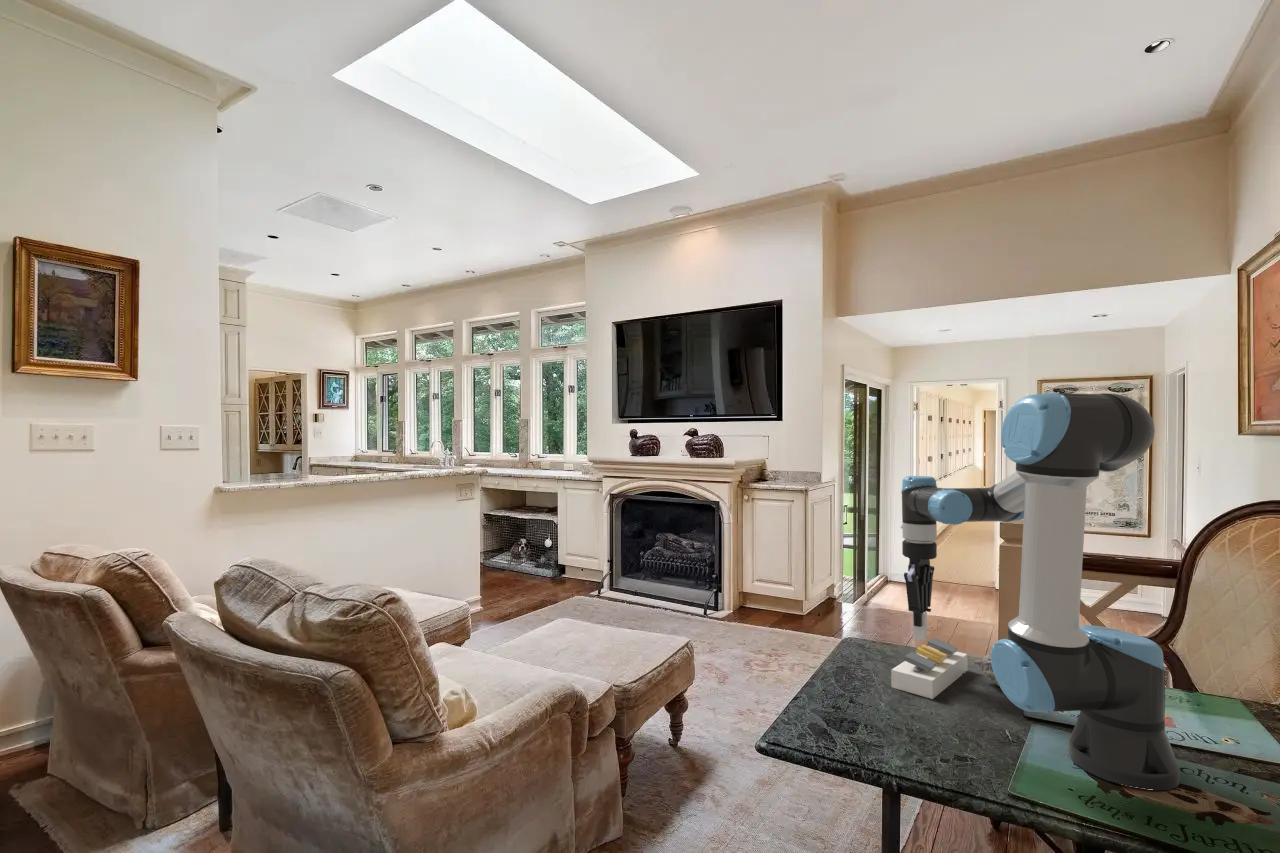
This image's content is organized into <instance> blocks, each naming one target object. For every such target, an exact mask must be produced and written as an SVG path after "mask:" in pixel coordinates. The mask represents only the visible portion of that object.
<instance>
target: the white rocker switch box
mask: <svg viewBox="0 0 1280 853" xmlns="http://www.w3.org/2000/svg"><path fill="white" fill-rule="evenodd" d="M928 647H929V646H928ZM931 648H932V647H931ZM933 649H934V648H933ZM935 650H936V649H935ZM938 651H939V650H938ZM940 652H941V651H940ZM915 653H916V652H915ZM942 653H943V652H942ZM916 654H918V653H916ZM945 654H946V653H945ZM919 655H920V654H919ZM921 656H922V655H921ZM923 657H924V656H923ZM925 658H927V657H925ZM927 659H929V658H927ZM930 660H931V659H930ZM932 661H933V660H932ZM934 662H936V661H934ZM965 671H966V672H968V653H964V652H961V651H957V652H955V653H954V654H953V655H951V656H950V655H948V654H947V659H946V660H944V661H943V662H942V663H938V662H936V667H935V668H933V669H932V670H931V671H929V672H928V671H926V670H924V669H922V668H919V667H917V666H915V665H913V664H911V663H909V662H906V661H903V662H901V663H899V664H898V665H897V666H895V667H893V668H892V669H891V671H890V674H891V676H890V677H891V681H890V682H891V684H890V685H891V688H893V689H896V690H900V691H903V692H906V693H909V694H914V695H917V696H921V697H924V698H926V699H927V698H928V699H931V700H933V699H935V698H936V697H937V696H938V695H939V694H941V693H942V692H943V691H944V690H946V689H947V688H949V686H951V685H952V684H953V683H954V682H955V681H956V680H958V679H959V678H960V677H961V676H963V675H964V674H965V673H966V672H965ZM963 673H964V674H963ZM962 674H963V675H962Z"/></svg>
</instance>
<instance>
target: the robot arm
mask: <svg viewBox="0 0 1280 853" xmlns="http://www.w3.org/2000/svg"><path fill="white" fill-rule="evenodd" d="M1000 429H1001V431H1000V442H1001V447H1002V448H1004V450H1003V452H1004V454H1005V455H1006V457H1007V458H1008V459H1009V460H1010V461H1012V462H1014V463H1015V472H1014V473H1012V474H1011V475H1008V476H1007V477H1006V478H1004V479H1003V480H1001V481H999V482H997V483H995V484H994V485H992V486H990V487H972V488H971V487H961V488H959V487H953V488H951V487H948V488H946V487H945V488H943V487H938V485H937V479H936V478H935V477H934V476H929V475H928V476H927V475H909V476H905V477H903V479H902V481H901V482H902V484H901V486H902V488H901V491H900V492H901V516H902V517H901V518H902V519H901V520H902V524H901V525H900V528H901V530H902V538H903V539H904V540H903V541H902V548H901V550H902V554H901V555H903V557H905V558H908V559H909V560H908V561H909V562H908V565H907V566H908V567H907V571H908V572H904V573H903V577H904V581H905V588H906V596H907V597H906V598H907V599H906V600H907V606H908V611H909V612H912V639H913V640H919V641H923V642H925V641H927V640H928V612H929V613H931V612H932V608H930V607H931V605H932V593H933V580H934V579H933V577H934V573H935V572H934V571H935V565H934V566H933V565H931V560H934V559H936V558H937V555H938V554H937V552H938V550H937V548H938V547H937V543H936V542H935V541H937V539H938V535H937V533H938V530H937V528H938V524H937V523H938V522H939V523H942V524H943V525H944V524H945V525H954V526H955V525H957V526H958V525H962V524H964V523H968V522H969V523H972V522H975V523H977V522H1003V523H1010V522H1014V521H1015V522H1016V521H1022V520H1023V524H1022V525H1023V526H1022V527H1023V528H1022V541H1021V542H1022V543H1021V545H1022V546H1021V548H1022V549H1021V564H1020V565H1021V567H1020V590H1019V604H1018V605H1019V606H1018V607H1019V608H1018V616H1016V617H1014V618H1013V619H1012V620H1010V621H1008V624H1007V625H1008V626H1007V638H1001V639H999V640H996V642H995V643H994V644H993V645H992V647H991V650H990V653H991V664H992V669H993V672H994V675H995V678H996V680H997V682H998V684H999V687H1000V689H1001V691H1002V693H1003V694H1004V695H1005V696H1006V698H1007V699H1008V700H1009V701H1010V702H1011V703H1012V704H1013V705H1015V707H1017V708H1019V709H1021V710H1023V711H1025V712H1031V713H1032V712H1036V713H1037V712H1038V713H1044V714H1052V713H1053V712H1072V711H1073V712H1075V711H1077V712H1078V711H1079V715H1078V717H1077V720H1076V722H1075V725H1074V727H1073V730H1072V732H1071V734H1070V737H1069V739H1068V756H1069V758H1070V759H1071V760H1072V762H1073V763H1075V765H1077V766H1079V768H1081V769H1082V770H1084V771H1086V773H1087V772H1088V773H1089V774H1091V775H1093V776H1095V777H1098V778H1100V779H1103V780H1105V781H1107V782H1110V781H1111V783H1113V782H1115V783H1114V784H1116V783H1119V784H1123V785H1127V786H1132V787H1138V788H1145V789H1153V790H1164V791H1170V789H1171V790H1174V789H1176V788H1177V787H1178V786H1179V785H1180V783H1181V780H1180V779H1181V777H1180V776H1181V773H1180V772H1181V769H1180V766H1179V764H1178V761H1177V758H1176V756H1175V753H1174V750H1173V749H1172V745H1171V742H1170V740H1169V738H1168V735H1167V732H1166V712H1165V711H1166V696H1165V695H1166V692H1165V691H1166V688H1165V687H1166V686H1165V684H1166V681H1165V680H1166V669H1167V668H1166V667H1165V663H1164V662H1165V661H1164V652H1163V649H1162V648H1161V646H1160V645H1159V644H1158V643H1157V642H1155V641H1153V640H1152V639H1149V638H1147V637H1145V636H1141V635H1139V634H1135V633H1132V632H1129V631H1125V630H1121V629H1116V628H1112V627H1106V626H1100V625H1093V624H1092V625H1091V624H1085V625H1081V626H1080V612H1081V593H1082V579H1083V578H1082V576H1083V575H1082V574H1083V562H1084V561H1083V559H1084V558H1083V557H1084V543H1085V542H1084V541H1085V540H1084V539H1085V528H1086V527H1085V522H1086V508H1087V507H1086V506H1087V490H1088V488H1087V487H1088V486H1089V485H1090V484H1091V483H1093V482H1095V481H1096V480H1097V479H1098V478H1099V477H1100V472H1104V473H1111V472H1114V471H1117V470H1119V469H1121V468H1123V467H1125V466H1128V465H1130V464H1131V463H1133V462H1135V461H1136V460H1138V459H1140V458H1141V457H1142V456H1143V455H1144V454H1145V453H1147V451H1148V450H1149V449H1150V447H1151V445H1152V443H1153V442H1154V438H1155V430H1156V429H1155V423H1154V420H1153V418H1152V416H1151V414H1150V413H1149V411H1148V409H1147V408H1145V406H1143V405H1142V404H1141V402H1139V401H1137V400H1135V399H1133V398H1131V397H1128V396H1125V395H1123V394H1117V393H1065V392H1064V393H1058V392H1048V393H1047V392H1046V393H1038V394H1037V393H1036V394H1029V395H1026V396H1024V397H1022V398H1020V399H1018V400H1017V401H1016V402H1015V403H1014V405H1013V406H1012V407H1010V408H1009V409H1008V411H1007V413H1006V414H1005V416H1004V419H1003V421H1002V425H1001V428H1000ZM1119 784H1118V785H1119ZM1123 785H1122V786H1123ZM1127 786H1126V787H1127ZM1173 788H1174V789H1173Z"/></svg>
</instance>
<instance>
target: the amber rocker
mask: <svg viewBox="0 0 1280 853" xmlns="http://www.w3.org/2000/svg"><path fill="white" fill-rule="evenodd" d="M915 653H918V654H920V655H922V656H924V657H927V658H929V659H931V660H933V661H936V662H938V663H942V662H943V661H944V660H946V659H947V654H945V653H942V652H940V651H938V650H935V649H933V648H931V647H928V646H927V644H921V645H920V646H918V647H917V648H916V650H915Z"/></svg>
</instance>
